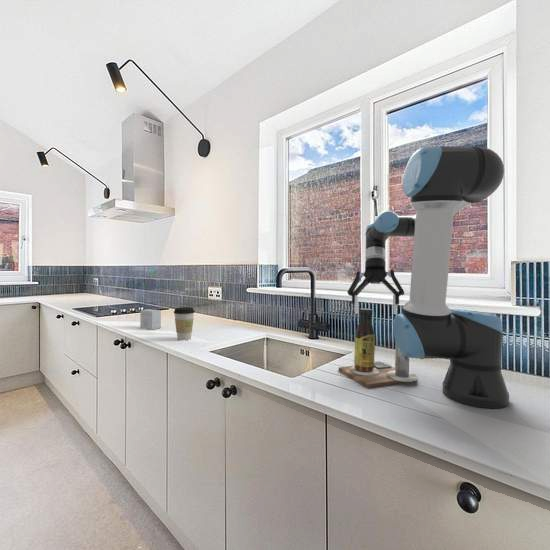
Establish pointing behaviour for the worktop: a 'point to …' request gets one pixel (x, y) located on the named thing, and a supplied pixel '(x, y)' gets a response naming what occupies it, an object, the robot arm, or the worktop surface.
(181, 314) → the coffee cup
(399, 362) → the peg
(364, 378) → the board
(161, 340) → the worktop surface
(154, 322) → the skincare box
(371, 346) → the sauce bottle
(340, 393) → the worktop surface
